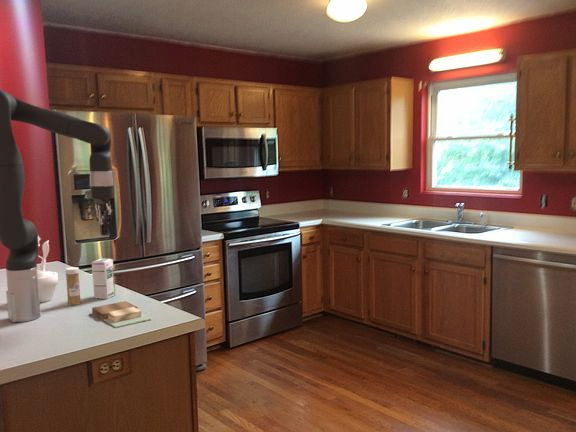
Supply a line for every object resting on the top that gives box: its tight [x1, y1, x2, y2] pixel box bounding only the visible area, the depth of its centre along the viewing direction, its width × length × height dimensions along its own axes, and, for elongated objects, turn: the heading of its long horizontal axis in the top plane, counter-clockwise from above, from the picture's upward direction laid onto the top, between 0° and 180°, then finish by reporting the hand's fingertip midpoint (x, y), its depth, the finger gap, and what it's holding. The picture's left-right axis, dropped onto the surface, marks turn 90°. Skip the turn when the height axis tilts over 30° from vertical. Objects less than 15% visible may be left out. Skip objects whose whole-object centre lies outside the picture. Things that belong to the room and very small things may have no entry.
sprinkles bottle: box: [65, 266, 82, 306], centre depth 193 cm, size 5×5×14 cm
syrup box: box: [91, 258, 116, 300], centre depth 202 cm, size 6×6×14 cm
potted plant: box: [37, 234, 59, 303], centre depth 197 cm, size 13×12×25 cm
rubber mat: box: [103, 313, 152, 329], centre depth 174 cm, size 12×10×1 cm
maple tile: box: [108, 307, 142, 322], centre depth 176 cm, size 9×6×2 cm, turn 130°
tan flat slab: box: [91, 300, 138, 321], centre depth 182 cm, size 12×10×2 cm
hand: (104, 235), depth 181 cm, fingers closed
